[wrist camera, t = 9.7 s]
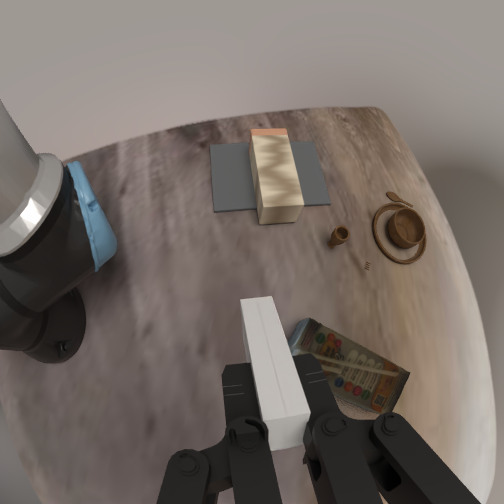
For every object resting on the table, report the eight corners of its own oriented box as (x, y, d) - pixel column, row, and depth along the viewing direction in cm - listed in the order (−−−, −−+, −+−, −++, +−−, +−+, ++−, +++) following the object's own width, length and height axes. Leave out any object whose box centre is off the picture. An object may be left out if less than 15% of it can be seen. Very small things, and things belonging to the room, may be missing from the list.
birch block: (263, 207, 40) (250, 129, 45) (259, 224, 46) (248, 150, 50) (304, 204, 41) (285, 128, 45) (295, 221, 46) (280, 149, 51)
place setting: (416, 289, 45) (435, 281, 40) (319, 254, 46) (331, 241, 41) (423, 209, 51) (438, 196, 45) (338, 172, 52) (348, 154, 46)
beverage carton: (298, 318, 42) (310, 313, 36) (393, 370, 40) (415, 372, 34) (272, 363, 40) (280, 367, 33) (371, 412, 38) (392, 420, 32)
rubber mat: (214, 212, 46) (214, 211, 46) (210, 147, 51) (209, 145, 50) (329, 205, 49) (330, 203, 48) (312, 143, 53) (313, 141, 52)
